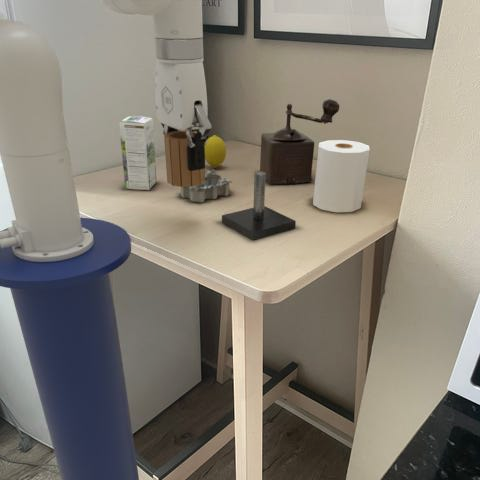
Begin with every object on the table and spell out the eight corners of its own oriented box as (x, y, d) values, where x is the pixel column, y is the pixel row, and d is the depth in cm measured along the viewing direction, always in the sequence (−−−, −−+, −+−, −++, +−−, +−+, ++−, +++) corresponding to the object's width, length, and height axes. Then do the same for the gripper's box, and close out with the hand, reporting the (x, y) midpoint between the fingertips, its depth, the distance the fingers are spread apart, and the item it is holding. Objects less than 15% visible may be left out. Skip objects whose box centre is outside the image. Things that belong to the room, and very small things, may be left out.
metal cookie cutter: (215, 186, 114) (215, 168, 112) (235, 195, 109) (235, 176, 107) (175, 194, 108) (174, 176, 106) (194, 204, 103) (194, 185, 101)
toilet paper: (344, 194, 111) (352, 137, 104) (370, 209, 103) (380, 150, 96) (303, 198, 108) (309, 141, 101) (327, 215, 100) (335, 154, 93)
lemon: (201, 165, 127) (200, 133, 123) (221, 163, 129) (221, 131, 125) (208, 172, 123) (208, 138, 118) (229, 169, 125) (229, 136, 120)
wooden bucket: (179, 189, 86) (176, 141, 82) (160, 179, 91) (157, 133, 86) (212, 182, 90) (211, 136, 85) (192, 172, 94) (190, 128, 90)
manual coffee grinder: (269, 186, 114) (274, 102, 105) (258, 172, 124) (261, 93, 114) (333, 182, 117) (343, 100, 107) (317, 169, 126) (325, 92, 117)
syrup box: (133, 181, 116) (126, 115, 108) (157, 183, 115) (152, 116, 107) (125, 189, 111) (117, 120, 103) (150, 191, 110) (145, 122, 102)
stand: (253, 240, 89) (255, 185, 83) (221, 222, 96) (221, 170, 90) (295, 228, 94) (299, 175, 88) (262, 212, 101) (264, 162, 95)
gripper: (133, 47, 83) (144, 156, 92) (187, 57, 71) (192, 180, 81) (173, 45, 86) (179, 150, 96) (230, 54, 75) (230, 172, 85)
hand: (185, 163), depth 88 cm, fingers closed on wooden bucket, 6 cm apart
